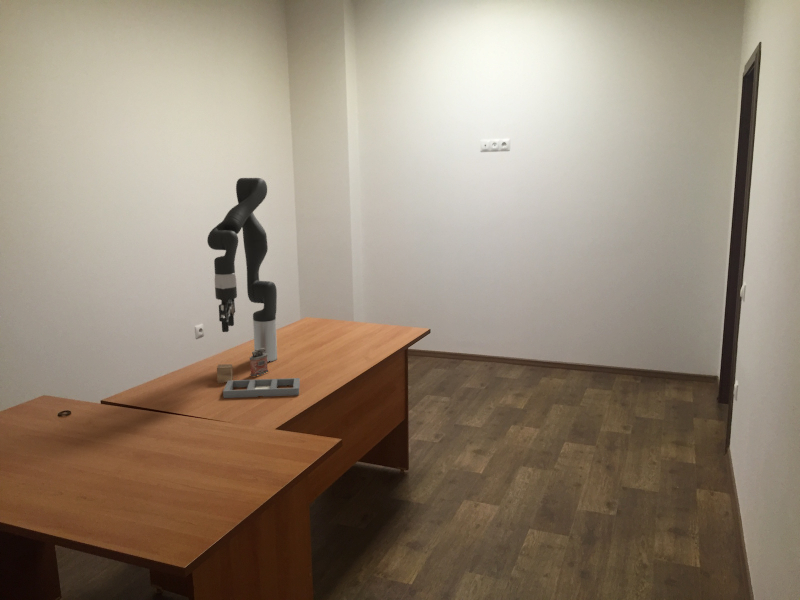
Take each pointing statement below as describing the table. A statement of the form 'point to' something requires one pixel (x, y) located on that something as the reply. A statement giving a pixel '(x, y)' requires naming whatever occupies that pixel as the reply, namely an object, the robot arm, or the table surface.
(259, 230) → the robot arm
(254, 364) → the lighter
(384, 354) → the table surface
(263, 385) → the grey compartment tray
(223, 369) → the wooden block
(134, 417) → the table surface
